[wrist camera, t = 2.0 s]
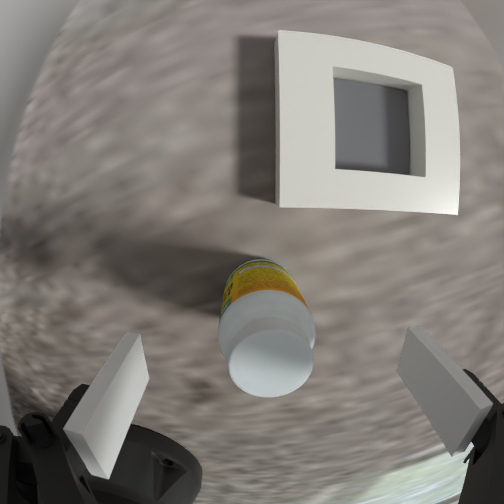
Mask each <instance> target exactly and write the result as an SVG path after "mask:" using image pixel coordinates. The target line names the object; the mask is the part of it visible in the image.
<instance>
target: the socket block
mask: <svg viewBox="0 0 504 504" xmlns="http://www.w3.org/2000/svg"><path fill="white" fill-rule="evenodd" d="M274 53H275V137H276V166H275V204H276V205H277V206H279V207H293V208H341V209H369V210H391V211H410V212H426V213H441V214H454V215H458V204H459V185H460V138H459V120H458V107H457V97H456V89H455V81H454V74H453V68H452V67H451V66H448V65H445V64H443V63H440V62H437V61H434V60H431V59H428V58H425V57H422V56H419V55H416V54H412V53H409V52H406V51H402V50H398V49H395V48H391V47H387V46H383V45H378V44H374V43H370V42H365V41H360V40H355V39H349V38H343V37H337V36H331V35H324V34H316V33H307V32H296V31H283V30H278V32H277V36H276V40H275V44H274ZM344 169H347V170H344ZM358 170H361V171H358ZM370 171H373V172H370ZM381 172H383V173H381ZM392 173H393V174H392ZM401 174H403V175H401Z"/></svg>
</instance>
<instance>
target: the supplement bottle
mask: <svg viewBox="0 0 504 504" xmlns="http://www.w3.org/2000/svg"><path fill="white" fill-rule="evenodd" d="M314 341H315V324H314V321H313V318H312V315H311V313H310V311H309V309H308V307H307V305H306V303H305V301H304V299H303V297H302V295H301V293H300V291H299V289H298V287H297V285H296V283H295V281H294V279H293V277H292V276H291V274H290V273H289V272H288V271H287V270H286V269H285V268H284V267H283V266H281V265H280V264H278V263H276V262H274V261H270V260H265V259H257V260H251V261H248V262H246V263H244V264H242V265H240V266H239V267H238V268H237V269H235V270H234V271H233V272H232V274H231V275H230V276H229V278H228V280H227V282H226V285H225V289H224V295H223V302H222V308H221V314H220V320H219V327H218V342H219V346H220V350H221V352H222V354H223V356H224V357H225V359H226V360H227V361H228V369H229V373H230V376H231V378H232V380H233V382H234V383H235V384H236V385H237V386H238V387H239V388H240V389H241V390H243V391H245V392H246V393H249V394H251V395H254V396H259V397H277V396H282V395H285V394H288V393H290V392H292V391H294V390H296V389H297V388H299V387H300V386H301V385H302V384H303V383H304V382H305V381H306V380H307V379H308V377H309V375H310V373H311V371H312V368H313V363H314V357H313V352H312V347H313V345H314Z"/></svg>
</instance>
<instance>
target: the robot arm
mask: <svg viewBox="0 0 504 504" xmlns="http://www.w3.org/2000/svg"><path fill="white" fill-rule="evenodd" d="M396 371H397V373H398V374H399V375H400V377H401V378H402V380H403V381H404V383H405V384H406V386H407V387H408V389H409V390H410V392H411V393H412V395H413V396H414V398H415V399H416V401H417V402H418V404H419V406H420V407H421V409H422V410H423V412H424V413H425V415H426V416H427V418H428V419H429V421H430V423H431V424H432V426H433V427H434V429H435V431H436V432H437V434H438V435H439V437H440V439H441V440H442V442H443V443H444V445H445V447H446V448H447V450H448V452H449V453H450V455H451V456H454V455H457V454H459V453H461V452H463V451H465V450H466V448H467V447H468V445H469V444H470V442H472V443H473V445H474V447H473V449H472V450H471V451H470V453H469V454H468V456H467V457H466V458H465V460H464V462H463V463H466V462H467V460H468V459H469V458H470V459H469V463H468V468H467V473H466V477H465V481H464V485H463V489H462V492H461V496H460V499H459V503H458V504H504V403H503V404H501V403H500V402H499V401H498V400H497V399H496V398H495V397H494V395H493V394H492V393H491V392H490V391H489V390H488V389H487V388H486V387H484V385H483V383H482V382H481V381H480V382H479V379H478V378H477V377H476V376H475V375H474V374H473V373H471V372H470V371H468V370H466V369H461V368H460V367H459V365H458V364H457V363H456V362H455V361H454V360H453V359H452V358H451V357H450V356H449V355H448V354H447V353H446V352H445V351H444V350H443V349H442V348H441V347H440V346H439V345H438V344H437V343H436V342H435V341H434V340H433V339H432V338H431V337H430V336H429V335H428V334H427V333H426V332H425V331H424V330H423V329H422V328H421V327H420V326H416V327H408V329H407V334H406V338H405V342H404V345H403V349H402V353H401V357H400V360H399V364H398V367H397V370H396ZM148 381H149V375H148V370H147V366H146V361H145V357H144V352H143V347H142V342H141V336H140V334H136V333H125V334H124V336H123V337H122V339H121V340H120V342H119V343H118V344H117V346H116V347H115V349H114V350H113V352H112V353H111V355H110V356H109V358H108V359H107V361H106V362H105V364H104V365H103V367H102V368H101V370H100V371H99V373H98V374H97V376H96V377H95V379H94V380H93V382H92V383H91V385H86V384H81V385H80V386H78V387H77V388H76V389H74V390H73V391H72V393H71V394H70V396H69V397H68V400H66V401H65V403H64V404H63V405H64V406H62V407H61V409H60V410H59V412H58V413H57V415H56V416H55V418H54V419H53V421H52V423H51V422H50V420H49V418H48V416H46V415H45V414H43V413H39V412H34V413H29V414H27V415H25V416H24V417H23V418H21V420H20V422H19V423H18V430H19V431H20V433H21V434H22V436H23V437H21V436H14V435H13V433H12V432H11V430H10V429H9V428H7V427H6V426H0V504H192V503H193V502H194V500H195V498H196V497H197V495H198V493H199V491H200V488H201V482H202V468H201V466H200V464H199V462H198V461H197V459H196V458H195V457H194V456H193V455H192V454H191V453H190V452H189V451H187V450H186V449H185V448H183V447H182V446H181V445H179V444H177V443H176V442H174V441H172V440H170V439H168V438H166V437H164V436H162V435H160V434H157V433H155V432H152V431H150V430H147V429H143V428H140V427H136V426H132V425H130V424H131V422H132V419H133V417H134V414H135V412H136V409H137V407H138V405H139V402H140V400H141V398H142V395H143V393H144V390H145V388H146V386H147V383H148Z"/></svg>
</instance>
